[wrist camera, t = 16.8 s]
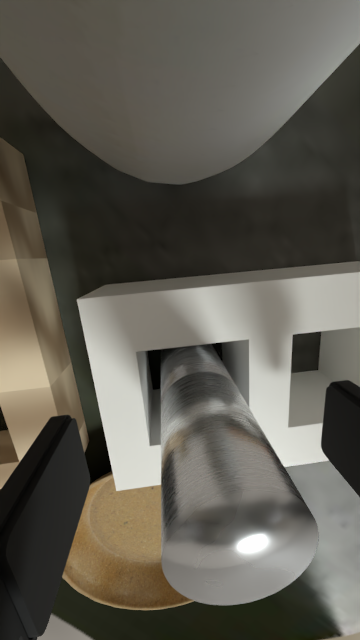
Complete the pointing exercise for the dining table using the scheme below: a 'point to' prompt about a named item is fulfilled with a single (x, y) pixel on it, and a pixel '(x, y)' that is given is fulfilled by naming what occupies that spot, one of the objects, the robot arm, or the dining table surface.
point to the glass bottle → (175, 74)
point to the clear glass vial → (224, 490)
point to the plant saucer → (121, 549)
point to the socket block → (28, 324)
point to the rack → (237, 353)
